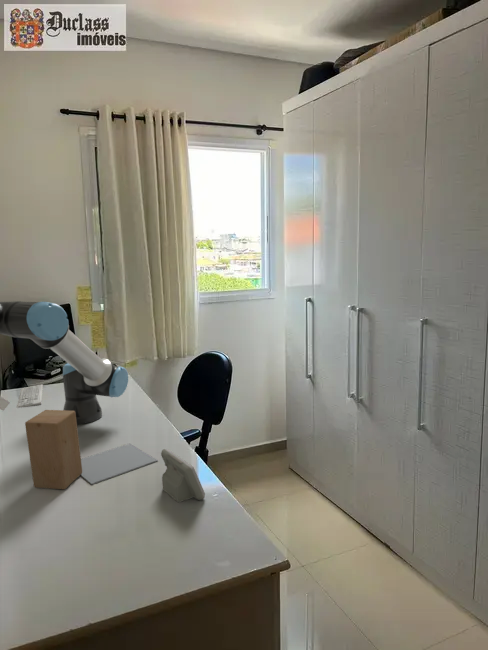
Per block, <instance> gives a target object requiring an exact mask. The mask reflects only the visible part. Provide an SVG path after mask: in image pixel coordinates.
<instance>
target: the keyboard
mask: <svg viewBox="0 0 488 650" xmlns="http://www.w3.org/2000/svg"><path fill="white" fill-rule="evenodd" d="M43 387H44V384H42V383H41V384H37V385H31V386H28V387H23V388H21V389H20V392H19V395H18V400H17V404H16V408H17V409H18V408H26V407H33V406H34V407H35V406H39V405H42V401H43V400H42V399H43V391H44V390H43V389H44V388H43Z"/></svg>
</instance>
